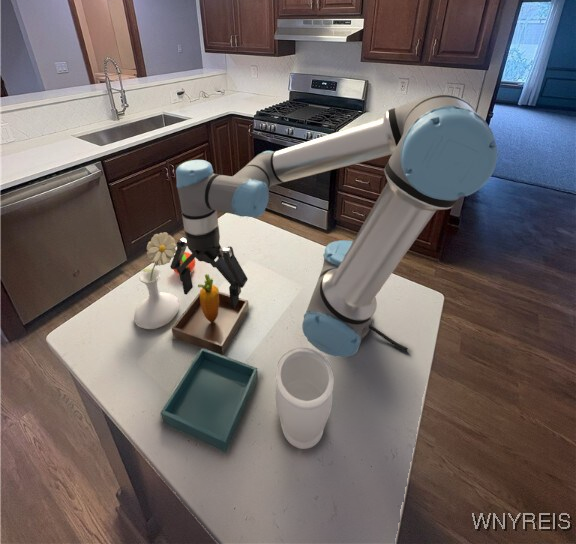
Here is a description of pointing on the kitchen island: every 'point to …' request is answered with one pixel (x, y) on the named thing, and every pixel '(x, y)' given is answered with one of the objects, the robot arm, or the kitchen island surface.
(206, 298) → the carrot
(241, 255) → the kitchen island surface
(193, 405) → the tray
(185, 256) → the clementine
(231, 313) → the tray
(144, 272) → the flower in vase
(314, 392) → the jar
